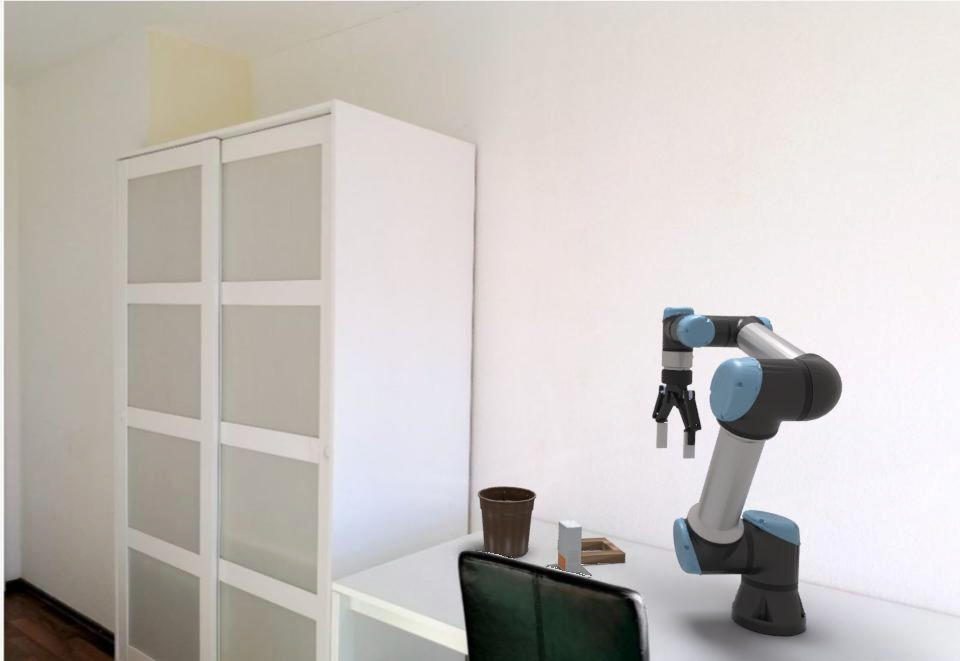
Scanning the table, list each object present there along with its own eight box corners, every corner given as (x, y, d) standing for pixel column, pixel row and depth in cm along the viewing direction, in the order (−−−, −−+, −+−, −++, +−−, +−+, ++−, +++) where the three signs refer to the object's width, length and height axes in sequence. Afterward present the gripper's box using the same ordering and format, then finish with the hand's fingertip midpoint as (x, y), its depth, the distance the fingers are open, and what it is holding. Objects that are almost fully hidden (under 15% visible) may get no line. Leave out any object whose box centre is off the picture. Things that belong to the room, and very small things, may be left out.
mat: (591, 577, 186) (591, 574, 186) (557, 579, 184) (557, 576, 184) (578, 564, 194) (578, 562, 194) (546, 567, 192) (546, 564, 192)
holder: (625, 562, 197) (625, 553, 197) (575, 565, 194) (576, 556, 194) (604, 546, 211) (604, 537, 211) (557, 548, 207) (557, 539, 207)
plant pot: (518, 565, 193) (519, 504, 193) (465, 554, 201) (466, 495, 201) (544, 548, 207) (546, 491, 207) (494, 538, 215) (495, 483, 215)
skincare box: (557, 566, 191) (558, 520, 191) (572, 565, 192) (573, 519, 192) (565, 574, 185) (566, 527, 185) (581, 573, 186) (582, 526, 186)
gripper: (718, 372, 174) (715, 462, 174) (666, 364, 198) (664, 443, 199) (689, 372, 172) (686, 463, 173) (640, 364, 196) (638, 444, 197)
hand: (674, 453), depth 186 cm, fingers open, 13 cm apart
